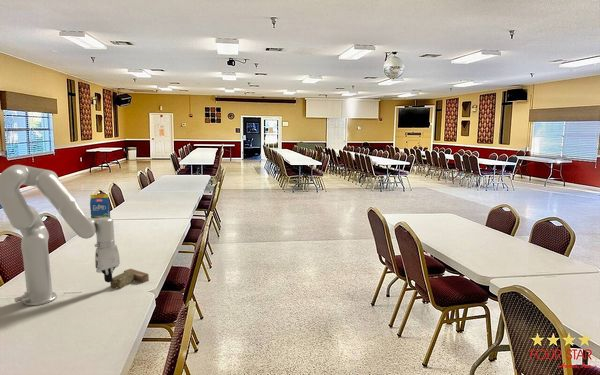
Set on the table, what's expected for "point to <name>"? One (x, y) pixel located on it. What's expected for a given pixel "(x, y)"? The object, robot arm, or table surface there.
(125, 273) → the stone block
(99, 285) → the table surface
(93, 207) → the blue food package
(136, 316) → the table surface
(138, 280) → the brown rectangular bar
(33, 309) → the table surface
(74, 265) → the table surface
